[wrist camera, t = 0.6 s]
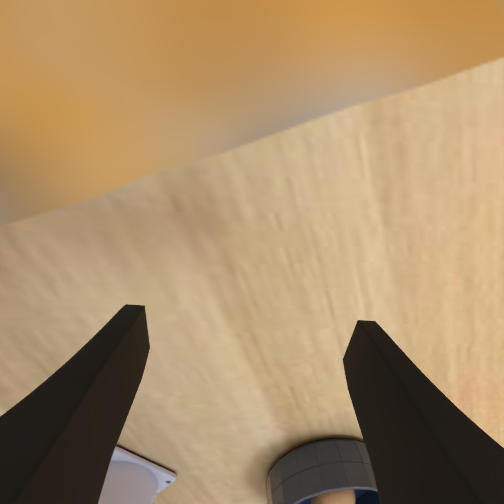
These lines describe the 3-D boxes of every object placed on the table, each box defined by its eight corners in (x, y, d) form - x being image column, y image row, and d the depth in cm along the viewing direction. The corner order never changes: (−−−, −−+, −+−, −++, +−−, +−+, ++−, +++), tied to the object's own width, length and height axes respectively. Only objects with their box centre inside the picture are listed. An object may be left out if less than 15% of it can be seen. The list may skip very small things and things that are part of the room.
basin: (318, 518, 37) (329, 570, 33) (240, 479, 32) (241, 533, 28) (410, 468, 33) (434, 519, 29) (336, 416, 29) (353, 468, 25)
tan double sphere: (338, 494, 34) (351, 543, 30) (302, 493, 33) (310, 542, 30) (355, 463, 31) (370, 511, 28) (315, 461, 31) (326, 510, 27)
